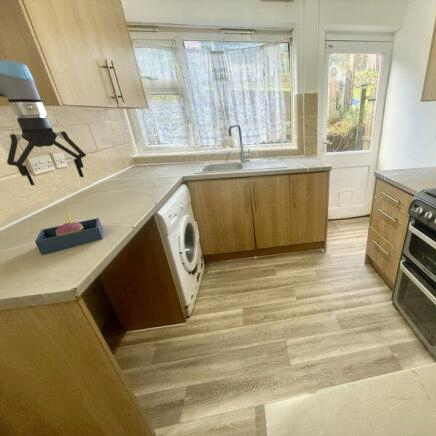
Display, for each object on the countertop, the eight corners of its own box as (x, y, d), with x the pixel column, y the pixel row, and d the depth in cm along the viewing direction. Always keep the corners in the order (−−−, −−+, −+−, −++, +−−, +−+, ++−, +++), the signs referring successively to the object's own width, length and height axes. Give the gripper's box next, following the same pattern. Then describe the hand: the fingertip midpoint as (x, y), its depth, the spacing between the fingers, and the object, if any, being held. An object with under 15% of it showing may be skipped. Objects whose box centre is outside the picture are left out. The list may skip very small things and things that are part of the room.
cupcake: (76, 233, 104) (64, 207, 99) (92, 235, 102) (81, 208, 97) (55, 244, 96) (40, 216, 91) (72, 245, 94) (58, 217, 89)
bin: (41, 254, 90) (34, 241, 88) (47, 241, 99) (41, 229, 97) (102, 239, 100) (98, 227, 97) (102, 229, 109) (98, 217, 107)
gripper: (-28, 118, 69) (9, 190, 77) (82, 116, 86) (102, 175, 95) (-27, 118, 73) (7, 186, 82) (77, 116, 91) (96, 172, 99)
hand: (58, 180), depth 88 cm, fingers open, 13 cm apart
